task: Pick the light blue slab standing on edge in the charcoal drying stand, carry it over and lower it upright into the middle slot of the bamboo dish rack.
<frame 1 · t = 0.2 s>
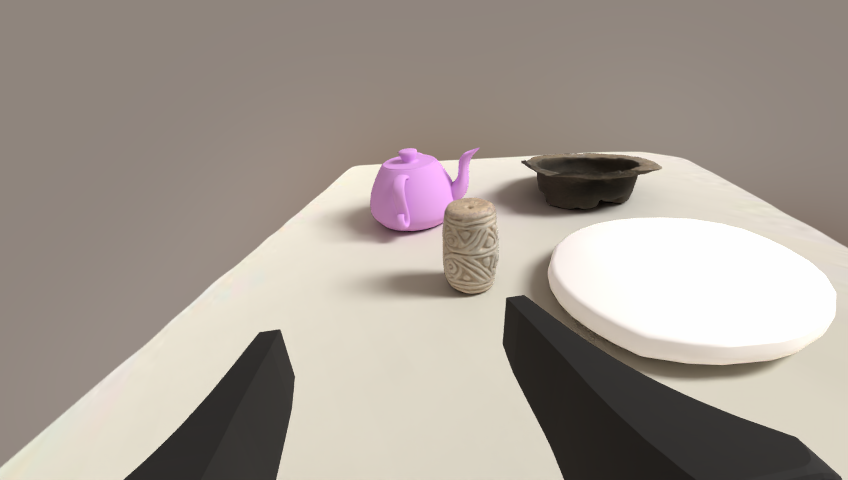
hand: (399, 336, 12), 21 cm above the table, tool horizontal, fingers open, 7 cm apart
teapot: (427, 218, 72), on the table
carving: (472, 285, 50), on the table
stone bowl: (583, 195, 75), on the table
plate: (663, 294, 45), on the table
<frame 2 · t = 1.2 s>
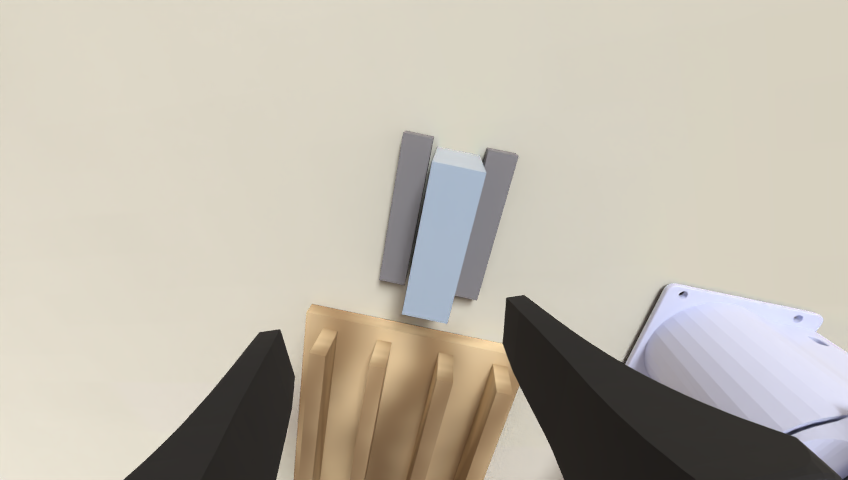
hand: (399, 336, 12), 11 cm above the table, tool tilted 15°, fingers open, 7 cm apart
dish rack: (398, 420, 28), on the table
light blue slab: (443, 217, 22), on the table
drying stand: (443, 217, 22), on the table
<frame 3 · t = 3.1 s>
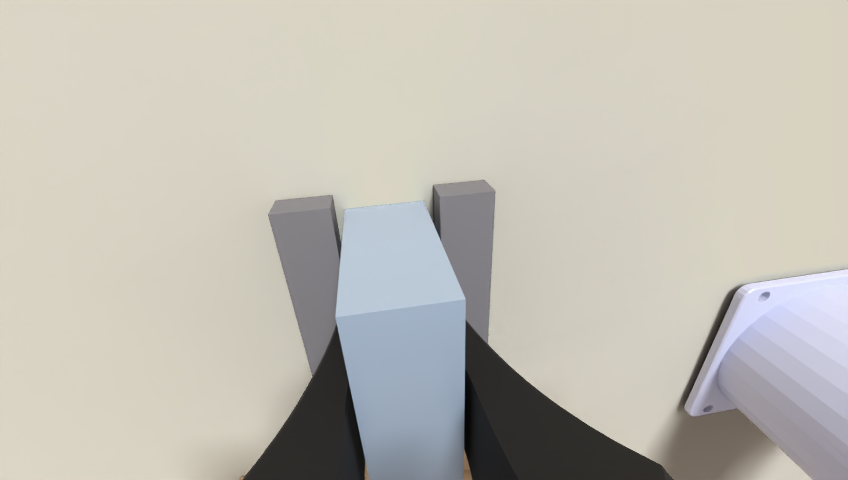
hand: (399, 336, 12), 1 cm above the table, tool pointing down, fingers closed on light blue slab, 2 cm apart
light blue slab: (395, 308, 13), on the table, touching gripper
drying stand: (396, 309, 13), on the table
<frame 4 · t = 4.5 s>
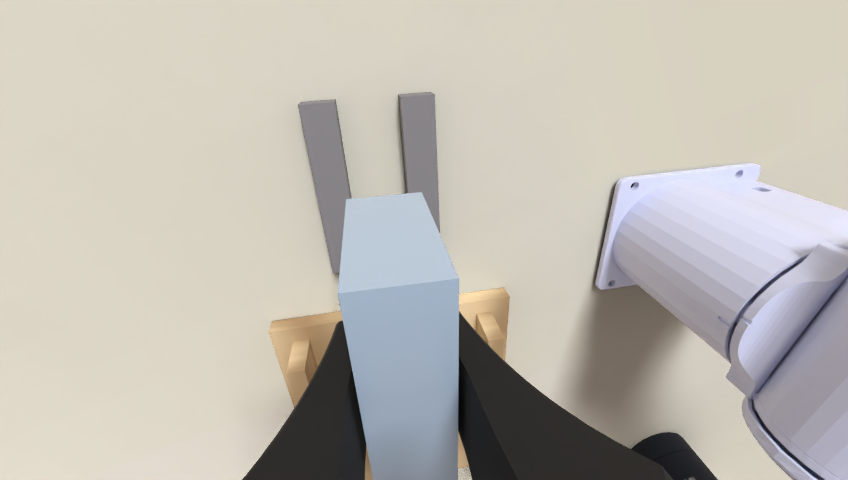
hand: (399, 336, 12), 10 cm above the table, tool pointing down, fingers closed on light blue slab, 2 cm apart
dish rack: (403, 397, 28), on the table
light blue slab: (394, 296, 13), point 8 cm above the table, touching gripper
drying stand: (378, 185, 19), on the table
black thermos bottle: (652, 449, 38), on the table
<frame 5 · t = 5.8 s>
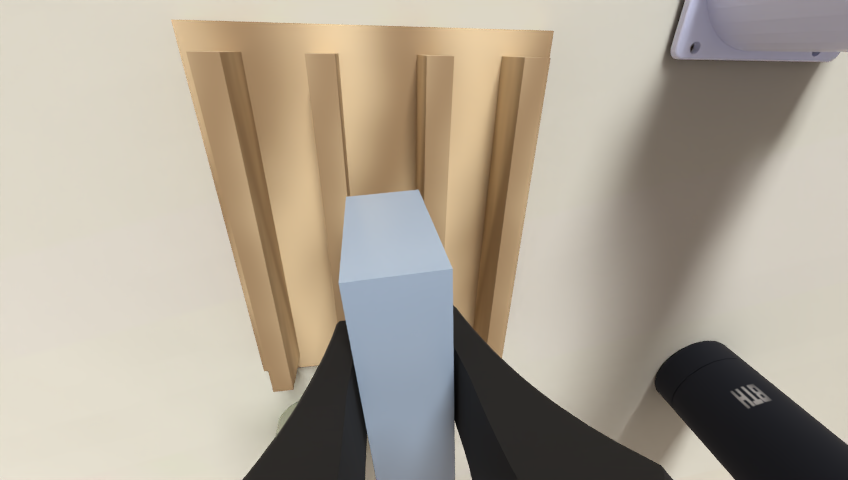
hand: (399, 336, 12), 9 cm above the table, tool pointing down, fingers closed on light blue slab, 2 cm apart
dish rack: (383, 221, 19), on the table
light blue slab: (393, 291, 14), point 6 cm above the table, touching gripper
black thermos bottle: (688, 367, 30), on the table
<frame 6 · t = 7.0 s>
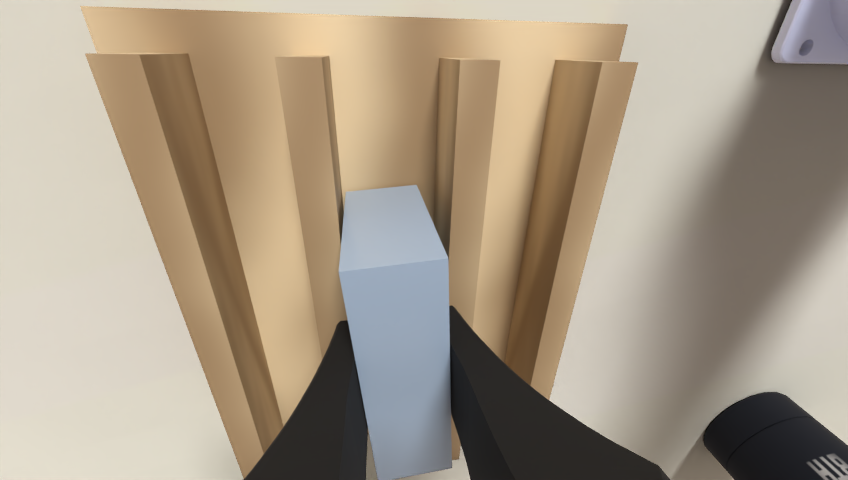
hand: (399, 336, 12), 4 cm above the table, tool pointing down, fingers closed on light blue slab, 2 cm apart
dish rack: (390, 270, 15), on the table
light blue slab: (392, 285, 14), point 1 cm above the table, touching gripper
black thermos bottle: (742, 419, 26), on the table
when the fingers open (4 cm above the table, at t = 7.1 s): light blue slab stays where it is, resting on dish rack.
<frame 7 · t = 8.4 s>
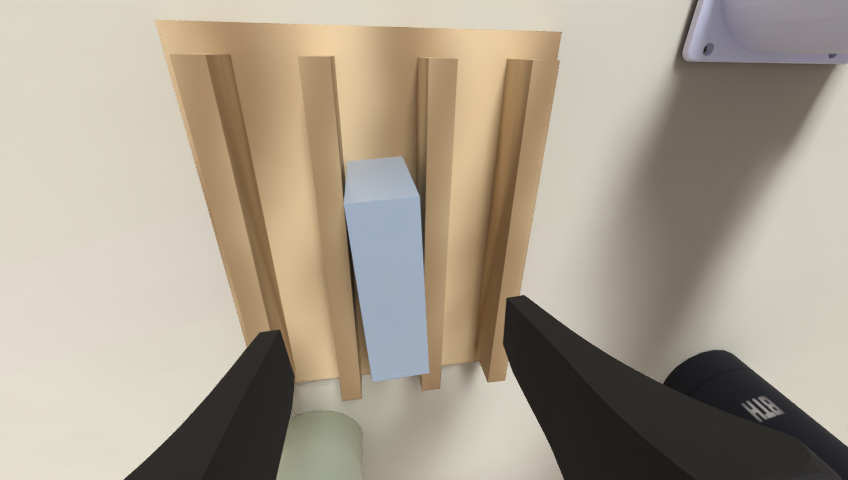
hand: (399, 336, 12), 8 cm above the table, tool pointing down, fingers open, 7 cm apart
dish rack: (382, 230, 19), on the table
light blue slab: (384, 239, 18), point 1 cm above the table, touching dish rack
pale green cylinder: (319, 439, 25), on the table
black thermos bottle: (695, 377, 29), on the table
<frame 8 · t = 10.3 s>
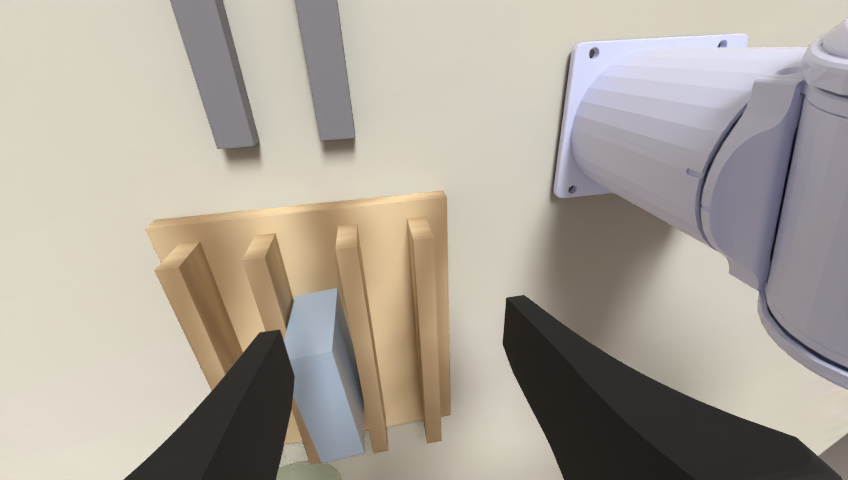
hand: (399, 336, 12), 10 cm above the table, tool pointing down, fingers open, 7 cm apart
dish rack: (333, 332, 24), on the table
light blue slab: (332, 342, 23), point 1 cm above the table, touching dish rack
drying stand: (268, 32, 15), on the table
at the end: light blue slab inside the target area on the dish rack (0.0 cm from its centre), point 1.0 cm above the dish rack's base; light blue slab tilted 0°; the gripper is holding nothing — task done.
